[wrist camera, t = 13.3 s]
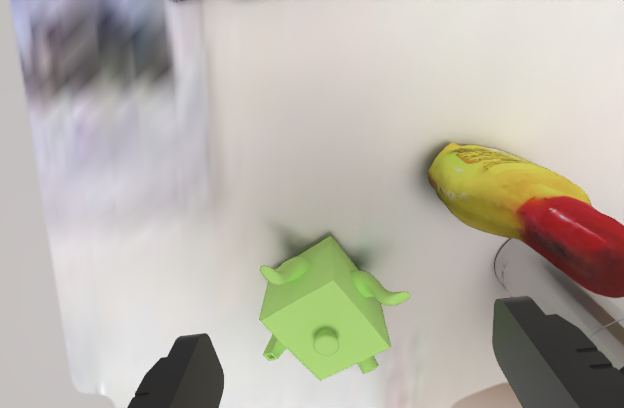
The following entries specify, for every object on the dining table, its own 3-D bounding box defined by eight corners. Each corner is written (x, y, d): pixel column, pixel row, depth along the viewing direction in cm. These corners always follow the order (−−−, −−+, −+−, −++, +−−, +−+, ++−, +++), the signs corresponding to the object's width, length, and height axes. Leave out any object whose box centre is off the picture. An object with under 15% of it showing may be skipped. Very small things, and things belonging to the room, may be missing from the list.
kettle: (274, 217, 40) (258, 274, 29) (392, 231, 40) (417, 293, 30) (265, 314, 46) (249, 390, 36) (368, 326, 46) (381, 404, 36)
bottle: (541, 149, 35) (774, 253, 17) (516, 203, 38) (695, 343, 20) (431, 130, 35) (550, 217, 17) (413, 186, 38) (500, 314, 19)
